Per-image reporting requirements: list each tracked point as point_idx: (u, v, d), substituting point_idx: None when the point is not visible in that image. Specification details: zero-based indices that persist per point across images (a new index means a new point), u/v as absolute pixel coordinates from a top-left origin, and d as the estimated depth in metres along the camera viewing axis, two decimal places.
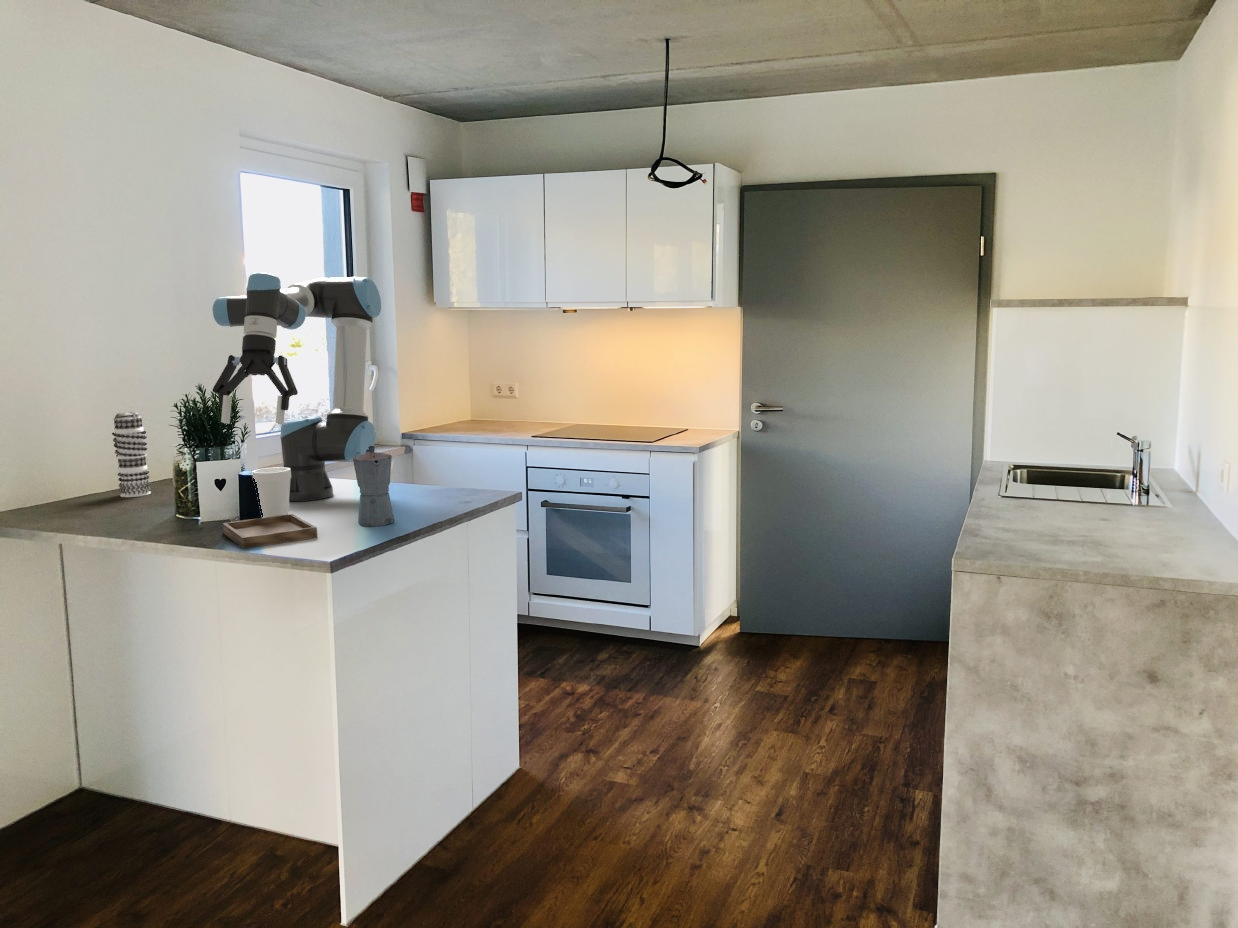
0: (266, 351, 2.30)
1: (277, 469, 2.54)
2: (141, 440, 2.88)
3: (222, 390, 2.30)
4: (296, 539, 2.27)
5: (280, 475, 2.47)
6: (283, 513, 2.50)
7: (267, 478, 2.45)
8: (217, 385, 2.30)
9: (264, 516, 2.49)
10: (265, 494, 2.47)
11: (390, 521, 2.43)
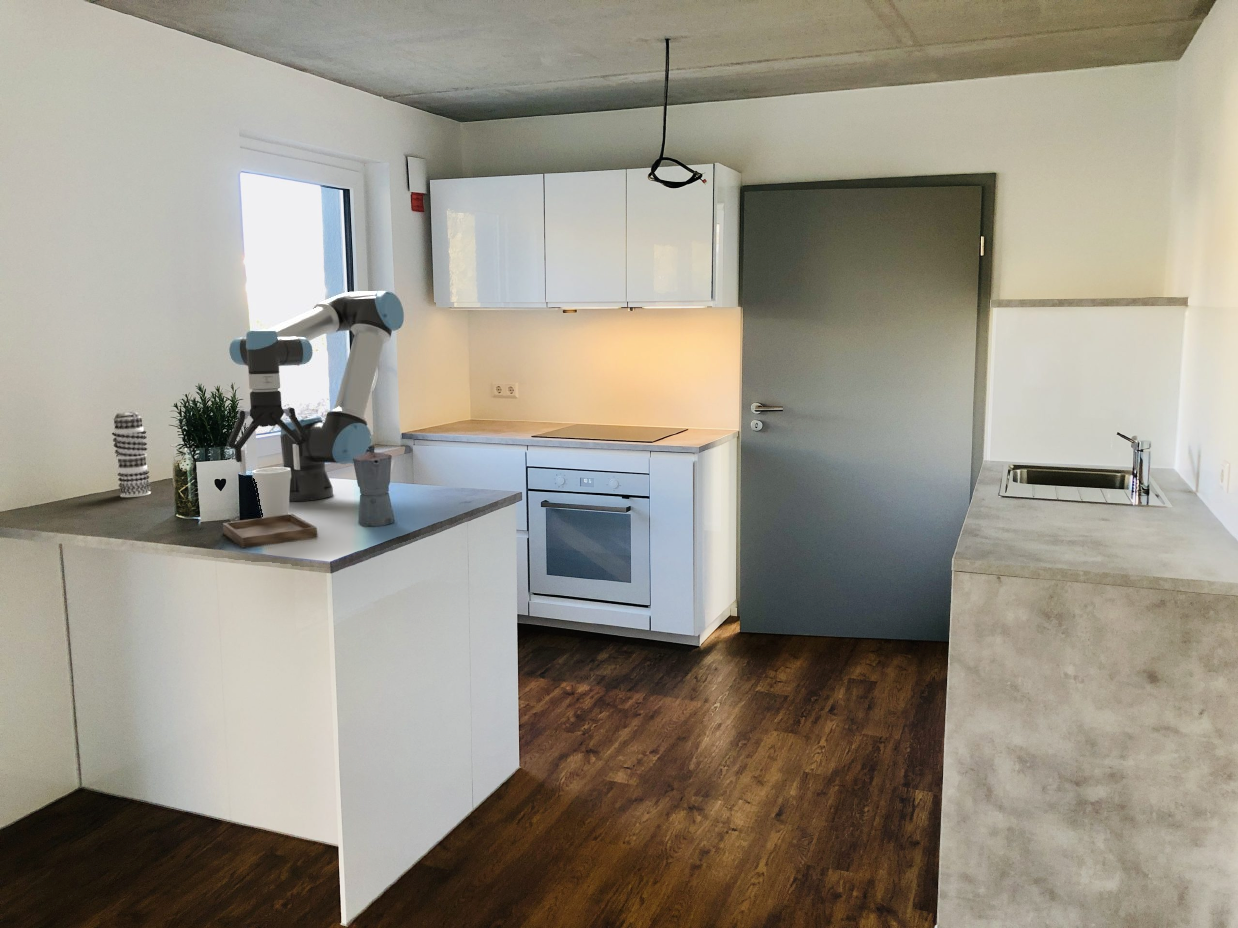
0: (277, 404, 2.48)
1: (277, 469, 2.54)
2: (141, 440, 2.88)
3: (239, 445, 2.43)
4: (296, 539, 2.27)
5: (280, 475, 2.47)
6: (283, 513, 2.50)
7: (267, 478, 2.45)
8: (233, 441, 2.42)
9: (264, 516, 2.49)
10: (265, 494, 2.47)
11: (390, 521, 2.43)
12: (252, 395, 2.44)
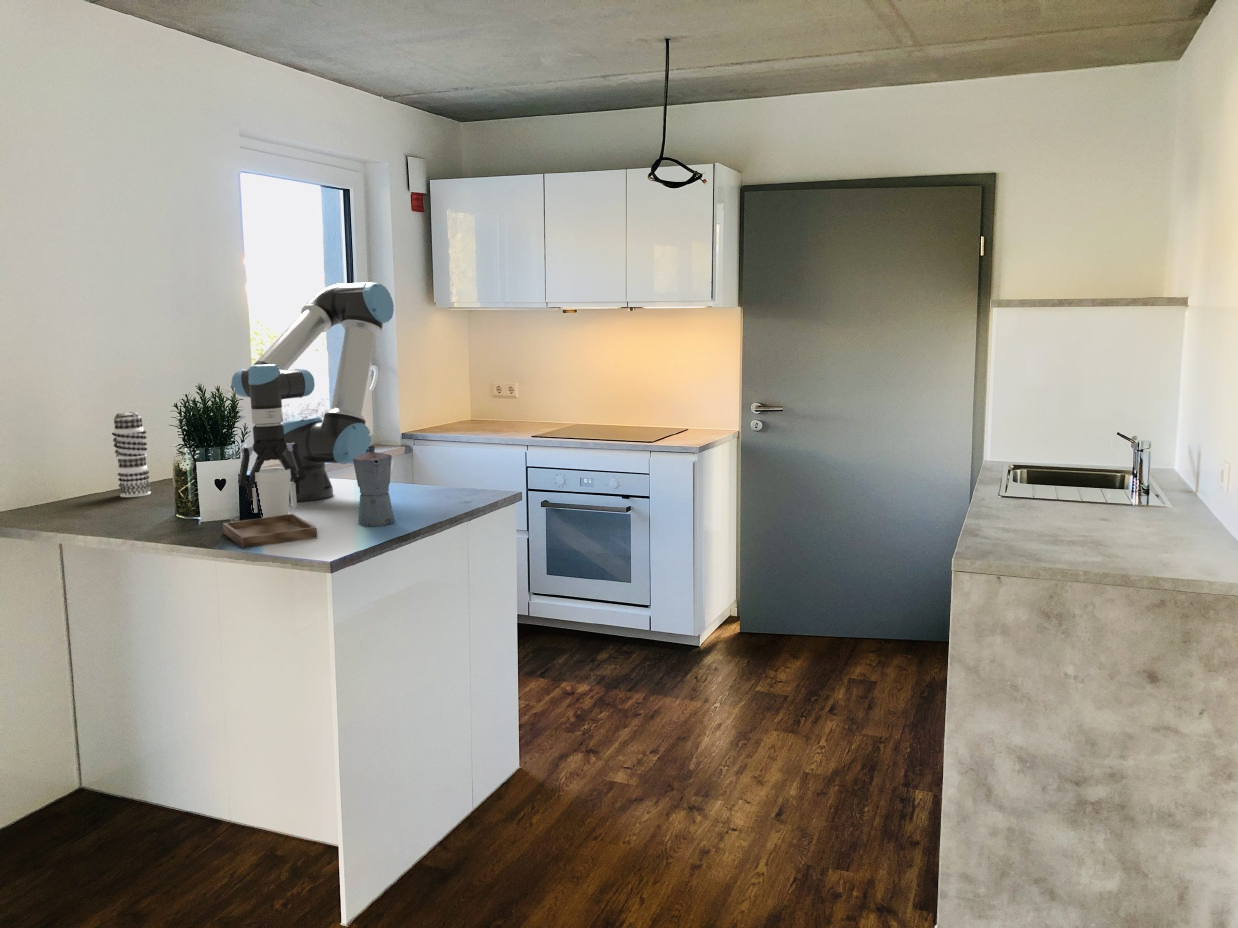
0: (280, 438, 2.49)
1: (277, 469, 2.54)
2: (141, 440, 2.88)
3: (250, 483, 2.46)
4: (296, 539, 2.27)
5: (280, 475, 2.47)
6: (283, 513, 2.50)
7: (267, 478, 2.45)
8: (243, 479, 2.45)
9: (264, 516, 2.49)
10: (265, 494, 2.47)
11: (390, 521, 2.43)
12: (255, 430, 2.45)
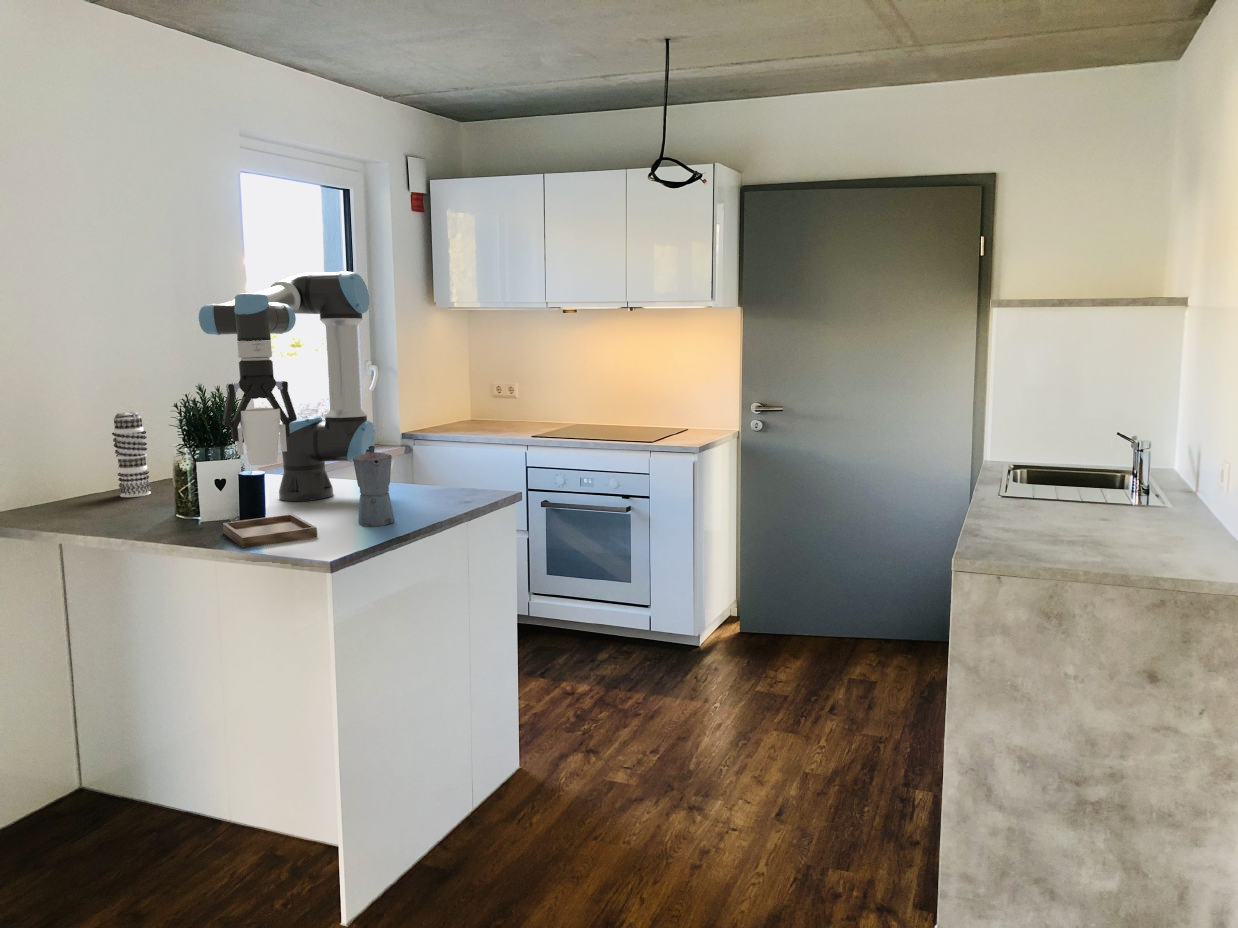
0: None
1: (266, 410, 2.33)
2: (141, 440, 2.88)
3: (235, 423, 2.25)
4: (296, 539, 2.27)
5: (268, 414, 2.26)
6: (271, 456, 2.29)
7: (254, 417, 2.25)
8: (227, 418, 2.24)
9: (251, 459, 2.28)
10: (252, 435, 2.26)
11: (390, 521, 2.43)
12: (241, 364, 2.25)
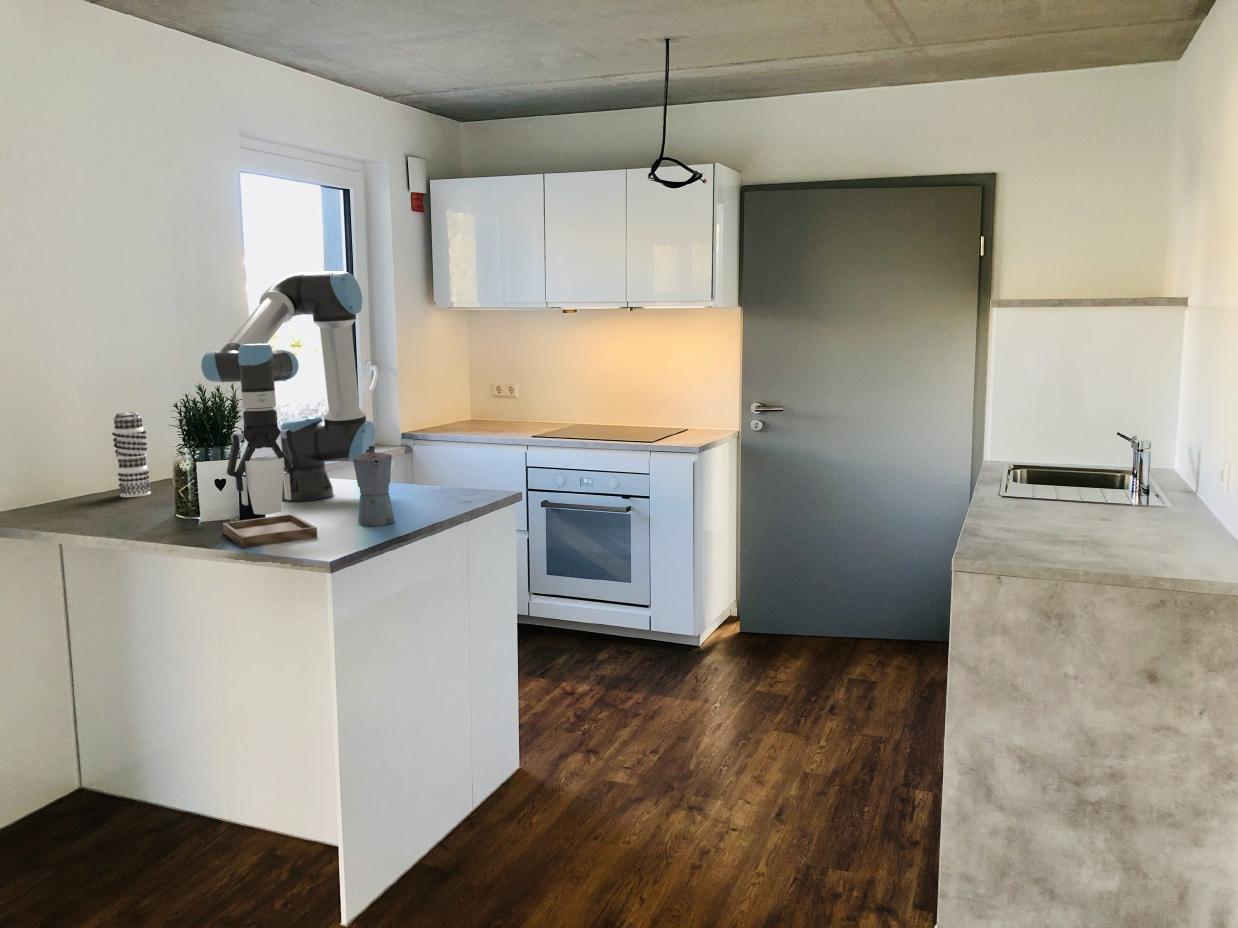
0: (273, 424, 2.29)
1: (270, 458, 2.34)
2: (141, 440, 2.88)
3: (239, 473, 2.26)
4: (296, 539, 2.27)
5: (273, 464, 2.27)
6: (276, 505, 2.30)
7: (258, 467, 2.25)
8: (232, 468, 2.25)
9: (255, 509, 2.29)
10: (256, 484, 2.27)
11: (390, 521, 2.43)
12: (245, 415, 2.25)
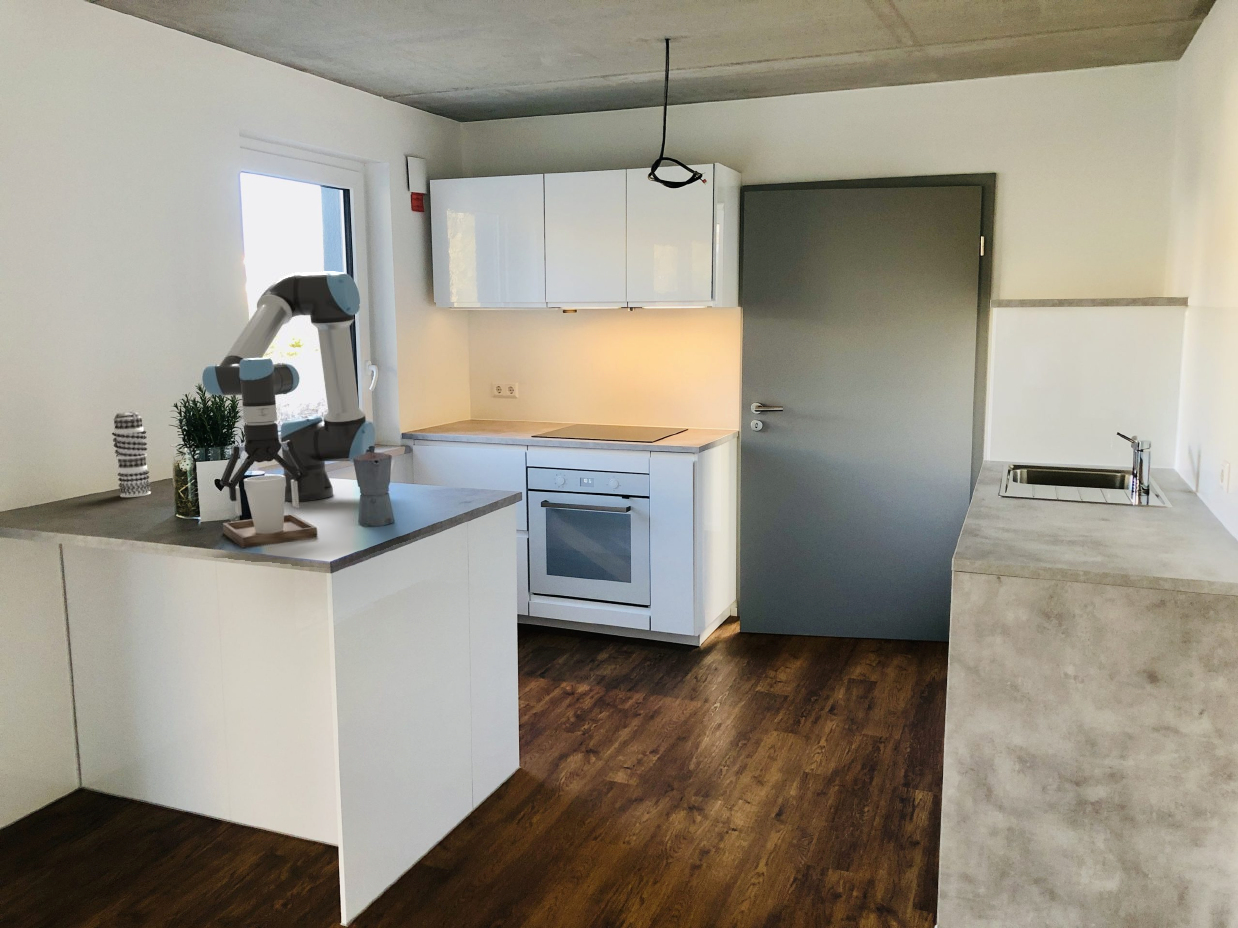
0: None
1: (271, 477, 2.35)
2: (141, 440, 2.88)
3: (233, 483, 2.25)
4: (296, 539, 2.27)
5: (274, 483, 2.28)
6: (278, 524, 2.31)
7: (259, 486, 2.26)
8: (226, 479, 2.24)
9: (257, 528, 2.30)
10: (258, 504, 2.28)
11: (390, 521, 2.43)
12: (247, 429, 2.26)
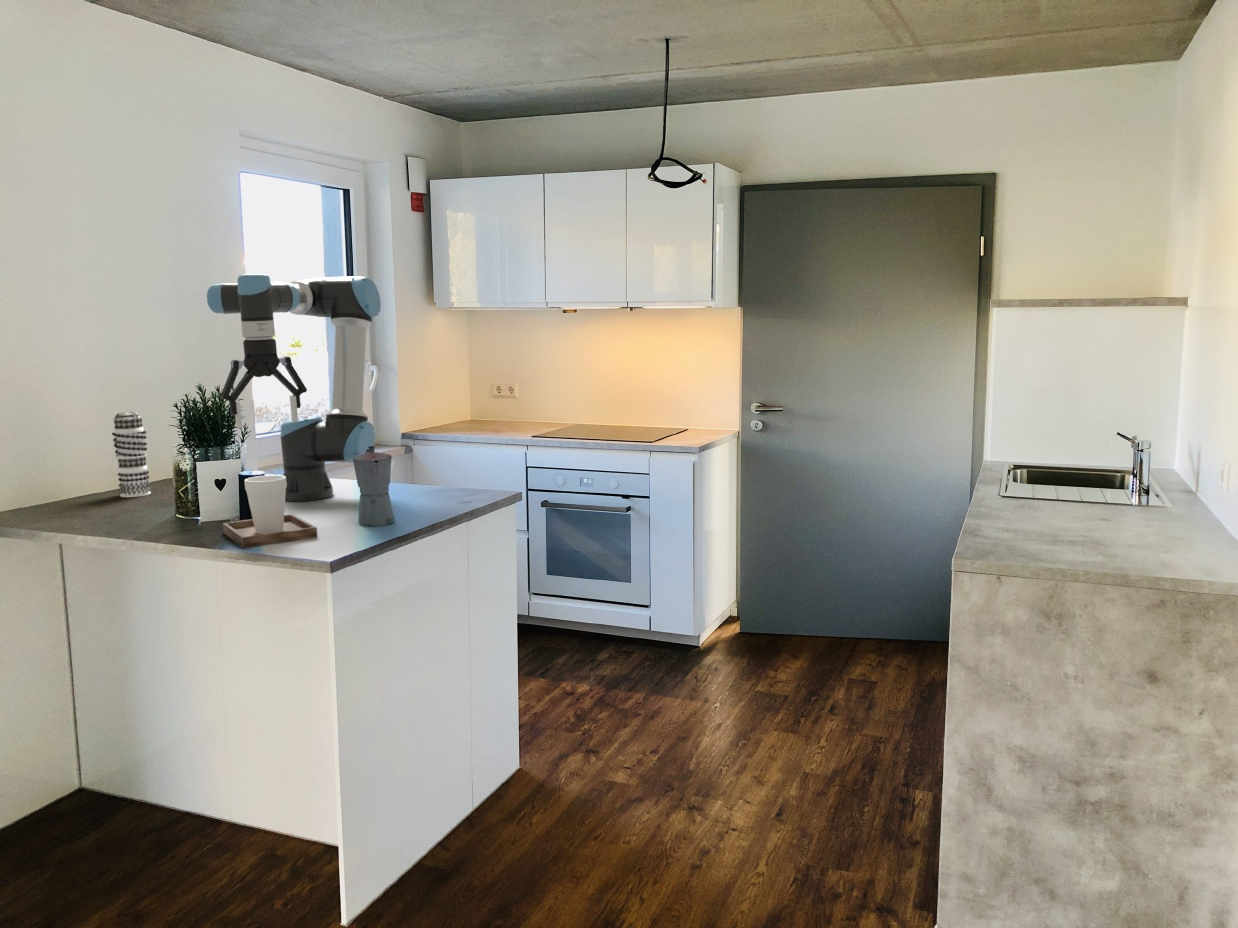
0: (272, 353, 2.35)
1: (272, 477, 2.35)
2: (141, 440, 2.88)
3: (234, 396, 2.31)
4: (296, 539, 2.27)
5: (274, 484, 2.28)
6: (278, 525, 2.31)
7: (260, 487, 2.26)
8: (227, 392, 2.30)
9: (257, 528, 2.30)
10: (258, 504, 2.28)
11: (390, 521, 2.43)
12: (246, 344, 2.31)
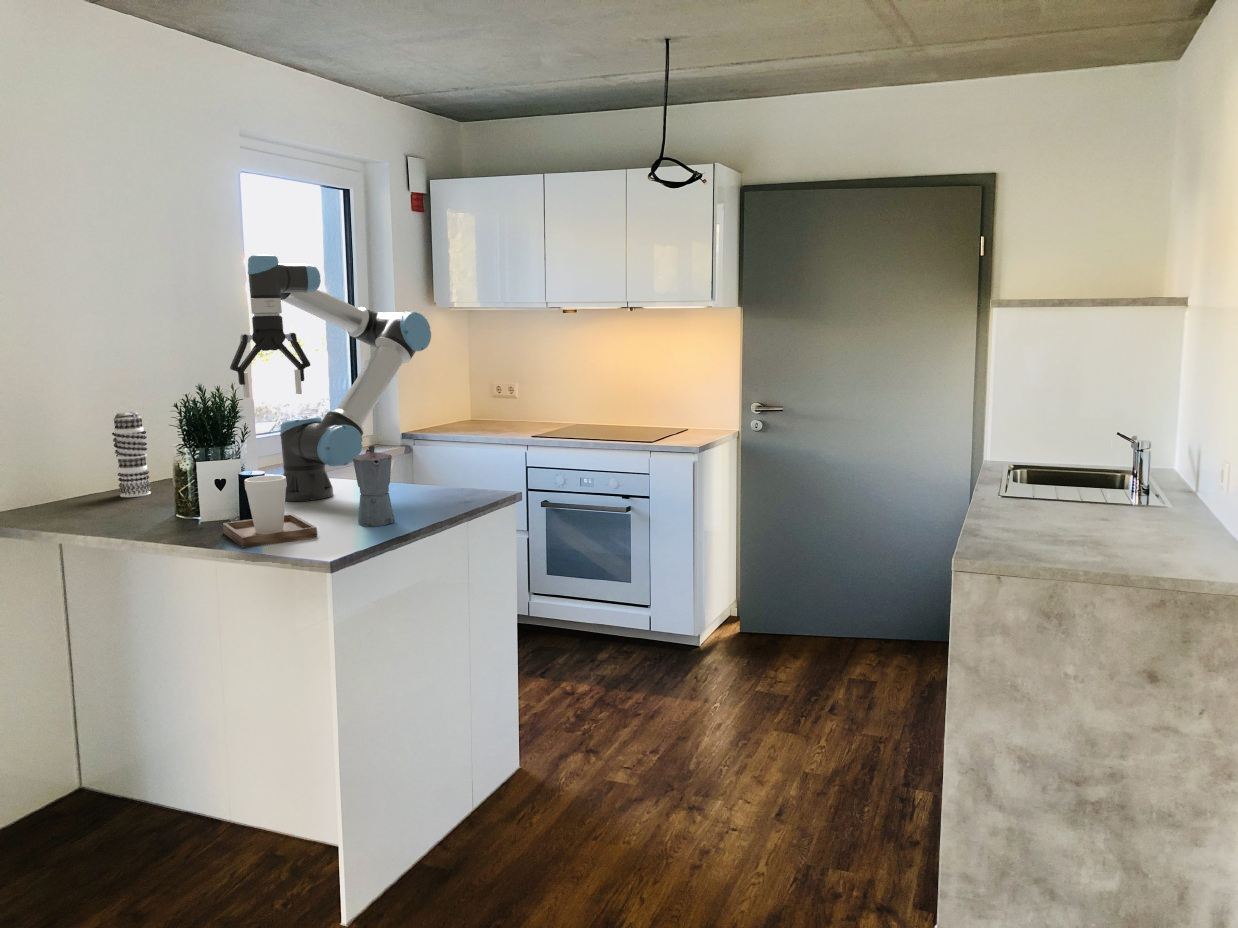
0: (279, 329, 2.53)
1: (272, 477, 2.35)
2: (141, 440, 2.88)
3: (242, 368, 2.49)
4: (296, 539, 2.27)
5: (274, 484, 2.28)
6: (278, 525, 2.31)
7: (260, 487, 2.26)
8: (236, 363, 2.48)
9: (257, 528, 2.30)
10: (258, 505, 2.28)
11: (390, 521, 2.43)
12: (254, 319, 2.49)
